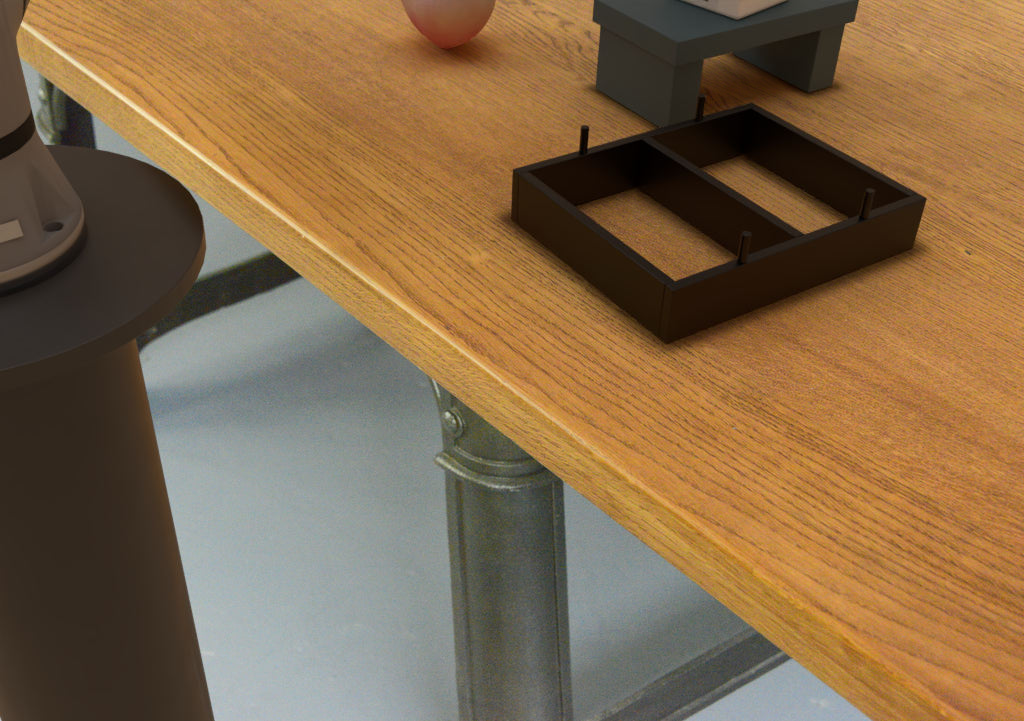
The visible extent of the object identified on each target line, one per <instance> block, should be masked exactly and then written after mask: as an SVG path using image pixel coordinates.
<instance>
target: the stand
mask: <svg viewBox="0 0 1024 721" xmlns="http://www.w3.org/2000/svg"><path fill="white" fill-rule="evenodd" d="M859 3H860V0H787V1H784V2H782V3H779V4H777V5H774V6H772V7H769V8H767V9H764V10H762V11H759V12H756V13H754V14H751V15H749V16H746V17H744V18H741V19H739V20H736V19H733V18H730V17H727V16H724V15H721V14H719V13H716V12H713V11H710V10H707V9H704V8H701V7H699V6H696V5H693V4H690V3H687V2H684V1H681V0H593V6H592V18H591V19H592V22H593V23H595V24H597V25H599V27H600V28H599V40H598V52H597V64H596V75H595V76H596V77H595V90H597V91H599V92H600V93H602V94H604V95H606V96H607V97H609V98H610V99H612V100H614V101H615V102H617V103H618V104H620V105H621V106H623V107H625V108H626V109H628V110H630V111H632V112H633V113H634V114H636V115H638V116H639V117H641V118H643V119H644V120H646V121H648V122H649V123H651V124H652V125H654V126H655V127H657V128H662V127H665V126H669V125H672V124H676V123H680V122H683V121H687V120H690V119H694V118H695V112H696V105H697V98H698V94H700V90H701V83H702V76H703V70H704V62H705V60H708V59H711V58H715V57H719V56H723V55H727V54H731V53H732V55H734V56H736V57H738V58H739V59H741V60H743V61H746V62H748V63H749V64H751V65H753V66H755V67H757V68H759V69H761V70H763V71H765V72H767V73H769V74H770V75H773V76H775V77H776V78H778V79H780V80H782V81H785V82H786V83H788V84H790V85H792V86H794V87H796V88H798V89H800V90H802V91H804V92H805V93H813V92H816V91H820V90H824V89H827V88H831V87H833V84H834V81H835V80H834V79H835V76H836V75H835V74H836V69H837V65H838V60H839V57H840V56H839V55H840V52H841V46H842V42H843V37H844V33H845V27H846V24H847V25H848V24H850V23H854V22H855V21H856V16H857V12H858V7H859Z"/></svg>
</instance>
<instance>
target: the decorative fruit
mask: <svg viewBox="0 0 1024 721" xmlns="http://www.w3.org/2000/svg"><path fill="white" fill-rule="evenodd" d="M496 1H497V0H400V2H401V4H402V7H403V9H404V11H405V13H406V15H407V18H408V19H409V21H410V22H411V24H412V25H413V26H414V27H415V29H416V30H417V31H418V32H419V33H420V34H422V35H423V36H424V37H425V38H426V39H427V40H429V41H430V42H431V43H432V44H434V45H436V46H438V47H440V48H441V49H444V50H449V49H452V48H456V47H457V46H460V45H463V44H465V43H467V42H469V41H471V40H472V39H473V38H475V37H476V36H477V35H479V33H480V32H481V31H483V29H484V27H485V26H486V25H487V24H488V22H489V20H490V19H491V16H492V14H493V12H494V9H495V6H496Z"/></svg>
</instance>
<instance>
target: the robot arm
mask: <svg viewBox="0 0 1024 721" xmlns="http://www.w3.org/2000/svg"><path fill="white" fill-rule="evenodd" d="M30 1H31V0H0V297H3V296H7V295H10V294H13V293H16V292H19V291H22V290H24V289H27V288H29V287H32V286H34V285H36V284H38V283H40V282H42V281H44V280H46V279H48V278H50V277H51V276H53V275H55V274H56V273H58V272H59V271H61V270H62V269H63V268H65V267H66V266H67V265H69V264H70V263H71V262H72V261H73V260H74V259H75V258H76V257H77V255H78V254H79V253H80V252H81V250H82V249H83V247H84V245H85V243H86V239H87V234H88V230H87V224H86V220H85V215H84V211H83V206H82V203H81V200H80V199H79V197H78V196H77V194H76V192H75V191H74V189H73V188H72V186H71V185H70V183H69V182H68V180H67V178H66V177H65V175H64V174H63V172H62V171H61V169H60V168H59V166H58V164H57V163H56V161H55V160H54V158H53V157H52V155H51V153H50V152H49V150H48V149H47V147H46V146H45V145H46V144H45V142H44V141H43V139H42V138H41V136H40V134H39V132H38V129H37V126H36V120H35V118H34V112H33V109H32V104H31V100H30V96H29V92H28V87H27V82H26V79H25V74H24V70H23V66H22V61H21V57H20V53H19V47H18V41H17V36H18V33H19V30H20V27H21V25H22V23H23V19H24V17H25V14H26V12H27V9H28V7H29V5H30Z"/></svg>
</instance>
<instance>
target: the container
mask: <svg viewBox="0 0 1024 721" xmlns="http://www.w3.org/2000/svg"><path fill="white" fill-rule="evenodd" d="M681 1H684V2H687V3H690V4H693V5H696V6H699V7H701V8H704V9H707V10H710V11H713V12H716V13H719V14H721V15H724V16H727V17H730V18H733V19H736V20H739V19H741V18H744V17H746V16H749V15H751V14H754V13H756V12H759V11H762V10H764V9H767V8H769V7H772V6H774V5H777V4H779V3H782V2H784V1H787V0H681Z"/></svg>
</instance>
